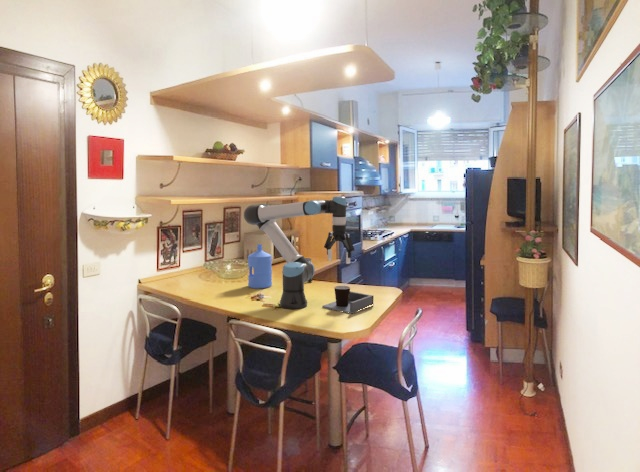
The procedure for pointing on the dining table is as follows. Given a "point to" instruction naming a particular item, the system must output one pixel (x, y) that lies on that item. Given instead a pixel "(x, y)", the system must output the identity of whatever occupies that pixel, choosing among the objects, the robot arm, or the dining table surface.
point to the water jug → (260, 269)
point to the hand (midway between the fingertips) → (338, 262)
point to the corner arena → (353, 303)
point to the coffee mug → (342, 295)
